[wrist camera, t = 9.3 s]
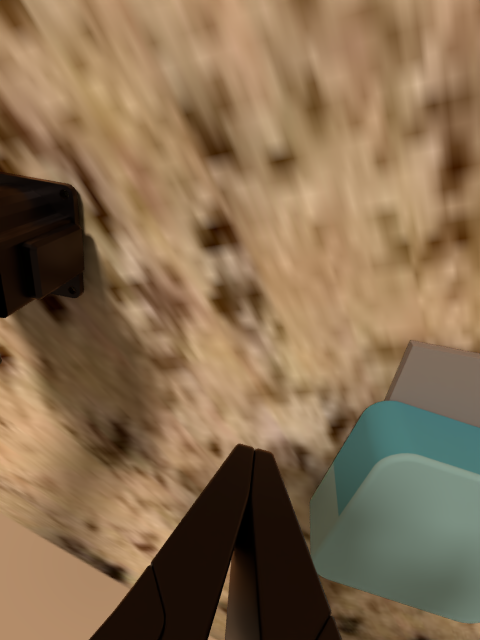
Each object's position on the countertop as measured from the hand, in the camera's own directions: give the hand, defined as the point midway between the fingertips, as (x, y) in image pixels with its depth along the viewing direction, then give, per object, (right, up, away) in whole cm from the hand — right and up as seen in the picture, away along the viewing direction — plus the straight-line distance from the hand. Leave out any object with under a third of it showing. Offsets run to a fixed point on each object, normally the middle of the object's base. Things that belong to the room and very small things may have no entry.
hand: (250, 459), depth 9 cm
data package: (+6, -7, +14) cm, 17 cm away
